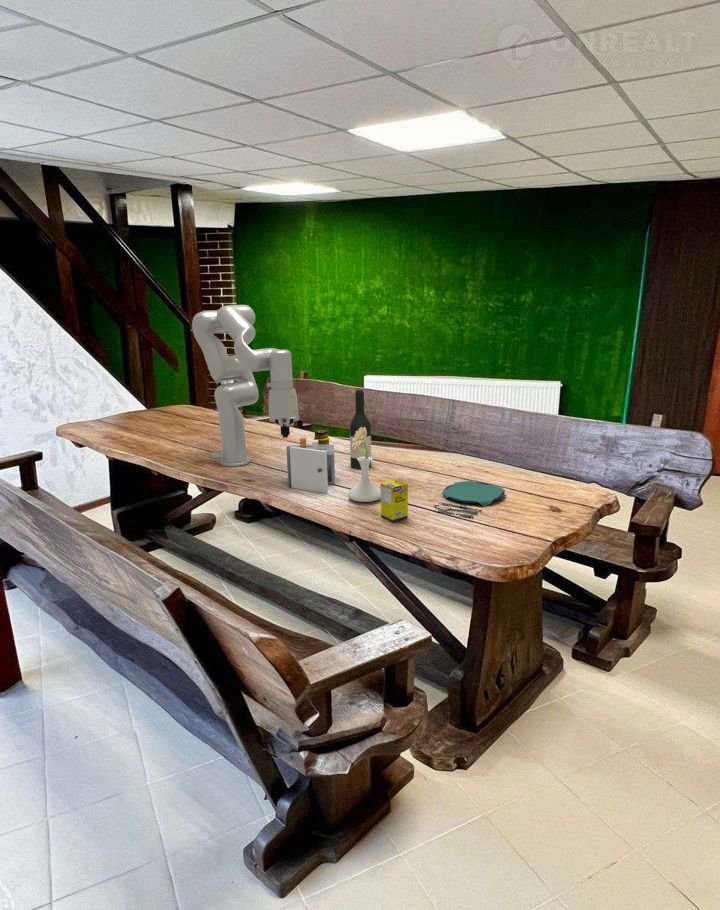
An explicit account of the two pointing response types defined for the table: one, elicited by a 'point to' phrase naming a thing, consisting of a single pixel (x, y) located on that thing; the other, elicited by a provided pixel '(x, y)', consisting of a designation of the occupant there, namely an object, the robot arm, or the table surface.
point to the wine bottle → (356, 423)
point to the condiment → (322, 437)
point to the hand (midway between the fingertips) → (285, 436)
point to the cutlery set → (471, 495)
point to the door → (307, 469)
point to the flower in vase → (363, 473)
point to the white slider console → (329, 460)
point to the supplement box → (394, 500)
